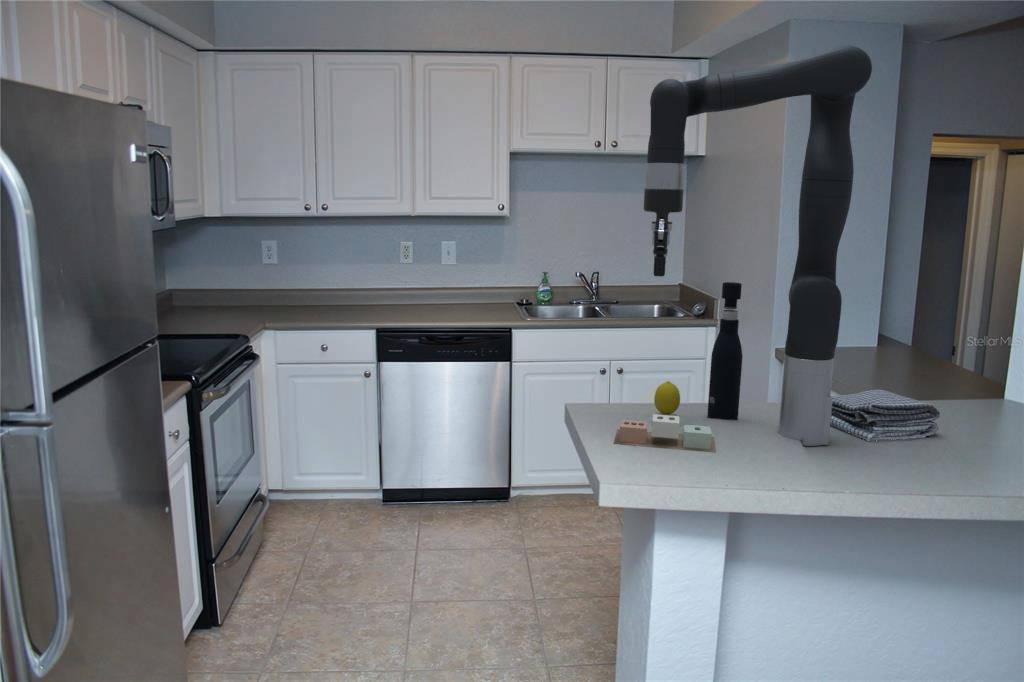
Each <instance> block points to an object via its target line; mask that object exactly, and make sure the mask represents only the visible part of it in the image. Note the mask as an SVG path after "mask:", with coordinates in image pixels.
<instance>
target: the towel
mask: <svg viewBox="0 0 1024 682" xmlns="http://www.w3.org/2000/svg"><path fill="white" fill-rule="evenodd" d="M830 396H831V397H832V399H833V401H832V412H831V422H830V425H831V426H830V427H833V426H834V427H833V428H835V427H836V428H835V429H838V428H839V429H838V430H840V429H841V430H840V431H842V430H843V431H842V432H845V431H846V432H845V433H847V432H849V433H848V434H850V433H851V434H850V435H852V434H853V435H852V436H854V435H855V436H854V437H856V436H858V437H860V438H859V439H861V438H863V439H862V440H864V439H865V440H868V441H876V440H877V441H878V442H880V441H879V440H891V439H892V440H891V441H894V440H893V439H903V438H911V437H922V436H929V437H932V436H934V435H935V434H936V432H937V431H939V430H938V429H939V426H938V424H937V422H935V421H936V420H937V419H939V418H940V414H941V413H940V411H939V410H938V409H937V408H936V406H934V405H933V404H932V403H928V402H923V401H920V400H917V399H915V398H912V397H908V396H903V395H900V394H897V393H895V392H891V391H889V390H884V389H871V390H865V391H860V392H856V393H850V394H841V395H830ZM931 435H932V436H931ZM858 437H857V438H858ZM865 440H864V441H865ZM868 441H867V442H868Z"/></svg>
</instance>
